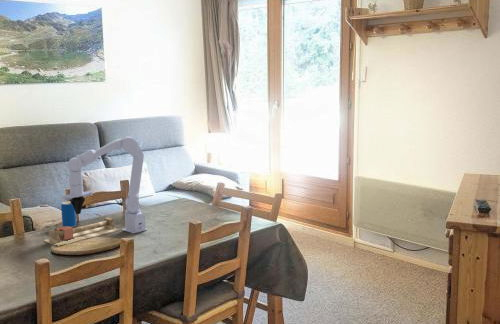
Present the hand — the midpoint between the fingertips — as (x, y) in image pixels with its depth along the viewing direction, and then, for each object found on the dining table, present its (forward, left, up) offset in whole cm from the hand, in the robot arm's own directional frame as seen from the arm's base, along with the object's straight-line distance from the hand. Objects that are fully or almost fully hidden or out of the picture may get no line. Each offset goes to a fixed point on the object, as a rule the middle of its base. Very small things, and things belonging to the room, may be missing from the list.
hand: (78, 213), depth 224 cm
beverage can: (+16, -4, -10) cm, 19 cm away
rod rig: (-3, 0, -10) cm, 10 cm away
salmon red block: (-2, +8, -9) cm, 12 cm away
